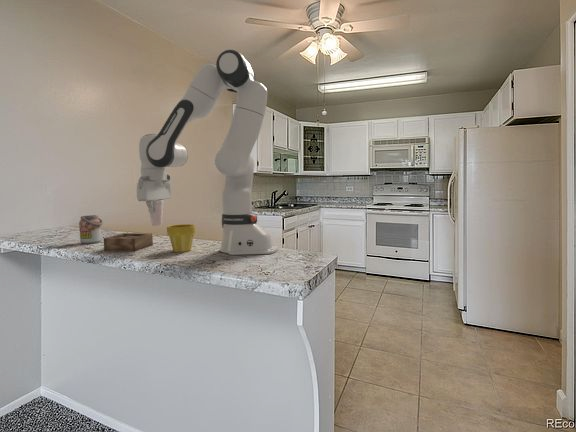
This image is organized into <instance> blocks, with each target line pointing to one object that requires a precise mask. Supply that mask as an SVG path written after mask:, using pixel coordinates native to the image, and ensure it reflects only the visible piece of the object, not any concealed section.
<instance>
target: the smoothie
mask: <svg viewBox="0 0 576 432" xmlns="http://www.w3.org/2000/svg"><path fill="white" fill-rule="evenodd" d="M163 203H164V204H165V200H164V201H161V200H153V203H152V204H153V207H154V208H155V212H149V216H150V221H151V226H153V227H155V226H162V225H163V215H164V214H163V213H164V205H163Z"/></svg>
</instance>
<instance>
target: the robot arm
mask: <svg viewBox="0 0 576 432" xmlns="http://www.w3.org/2000/svg"><path fill="white" fill-rule="evenodd" d="M215 62H216V63H215V64H213V63H204V64H202V65H201V67H200V68H199V69H198V71H196V73H195V75H194V76H193V78H192V80H191V82H190V84H189V85H188V88H187V89H186V91H185V93H184V95H183V97H182V98H181V99H180V100H179V101H178V103H176V105H175V106H174V108H173V109H172V111H171V113H170V114H169V115H168V118H167V119H166V121H165V122H164V124H163V126H162V128H161V129H160V131H159V132H158V133H149V134H148V133H147V134H145V135H142V136H141V137H140V139H139V144H138V151H139V152H138V153H139V160H140V177H139V179H138V182H137V183H136V198H137V200H138V202H145V204H146V207H147V208H148V212H149V213H150V212H155V208H154V207H153V204H152V203H153V201H156V200H161V201H164V203H163V206H165V200H167V199H171V197H172V185H171V180H172V178H171V177H172V176H171V175H170V174H169V173H167V172H166V170H165V169H166V168H179V167H182V166H184V165H185V164H186V163H187V162H188V158H189V153H188V150H187V148H186V147H185V146H184V145H183V144H181V143H178V142H177V141H178V139H179V137H180V136H181V135H182V133H183V131H184V130H185V128H186V126H187V125H188V124H189V123H190V122H192V121H195V120H197V119H202V118H205V117H208V115H209V114H210V113H211V112H212V111H213V109H214V107H216V106H215V105H216V103H217V101H218V99H219V97H220V95H221V94H222V92H224V90H227V91H228V92H230V93H236V94H237V99H236V103H235V105H234V106H235V107H234V111H233V114H232V119H231V123H230V126H229V129H228V131H227V134H226V136H225V138H224V140H223V142H222V144H221V146H220V149H219V150H218V151H217V153H216V154H215V156H214V157H215V158H214V165H215V168H216V169H217V171H219V173H221V174H222V175H223V176H225V181H224V186H223V187H224V188H223V189H222V190H223V191H222V214H221V227H222V236H221V238H222V239H221V243H220V248H219V251H220V252H222V253H226V254H228V255H231V256H236V255H237V256H238V255H239V256H240V255H241V256H242V255H269V254H274V253H276V252H277V251H278V249H279V247H278V245H277V244H273V238H272V235H271V233H270V232H269V231H268V230H267V229H265V228H264V227H262V226H261V225H260V224H259V223H258V214H257V215H256V214H254V213H253V207H252V195H253V194H252V193H253V190H252V189H253V184H254V183H253V182H254V171H255V170H254V169H255V160H254V158H253V156H252V154H251V153H252V151H253V149H254V146H255V144H256V141H257V140H258V139H259V136H260V132H261V129H262V125H263V121H264V117H265V113H266V109H267V104H268V103H267V102H268V89H267V87H266V86H265V85H264V84H262V83H261V82H259V81H257V80H256V73H255V72H254V70H253V69H252V67H251V64H250V63H249V62H248V60H247V59H246V58H245V57H244V55H243V54H242V53H240V52H239V51H237V50H233V49H226V50H224V51H223V52H221V53H220V54H219V55H218V56H217V58H216V61H215Z"/></svg>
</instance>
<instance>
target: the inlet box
mask: <svg viewBox="0 0 576 432" xmlns="http://www.w3.org/2000/svg"><path fill="white" fill-rule="evenodd" d="M153 236H154V235H153V233H150V232H148V233H147V232H145V233H144V232H143V233H142V232H140V233H139V232H134V233H133V232H123V233H118V234H115V235H111V236H108V237H107V236H106V237H103V239H102V240H103V251H104V252H138V251H140V250H143V249H145V248H148V247H151V246H154V240H153Z"/></svg>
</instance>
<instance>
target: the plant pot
mask: <svg viewBox="0 0 576 432" xmlns="http://www.w3.org/2000/svg"><path fill="white" fill-rule="evenodd" d="M194 234H196V225H195V224H192V223H191V224H187V223H186V224H185V223H184V224H173V225H172V224H171V225H168V226H166V235H167V236H169V240H170V243H171V244H170V245H171V248H172V251H173V252H174V253H175V252H176V253H183V252H185V253H186V252H190V251H192V245H193V239H194V236H195V235H194Z"/></svg>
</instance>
